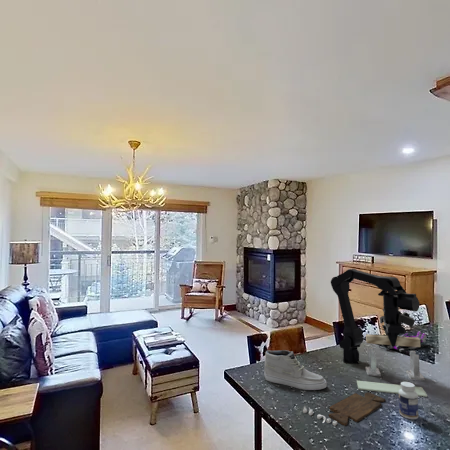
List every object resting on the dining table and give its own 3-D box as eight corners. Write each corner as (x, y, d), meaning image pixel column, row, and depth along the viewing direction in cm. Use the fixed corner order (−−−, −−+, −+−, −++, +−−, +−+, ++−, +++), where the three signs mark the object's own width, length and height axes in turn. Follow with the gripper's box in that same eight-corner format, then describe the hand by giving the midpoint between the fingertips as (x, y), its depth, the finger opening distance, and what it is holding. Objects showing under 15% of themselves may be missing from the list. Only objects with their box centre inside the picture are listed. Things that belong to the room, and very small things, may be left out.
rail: (367, 343, 138) (366, 336, 138) (366, 341, 140) (365, 334, 141) (420, 347, 132) (420, 339, 132) (418, 344, 135) (418, 337, 135)
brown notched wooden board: (320, 416, 106) (349, 430, 98) (320, 411, 106) (349, 425, 98) (362, 392, 122) (389, 402, 114) (362, 387, 122) (389, 397, 114)
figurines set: (337, 424, 100) (337, 415, 100) (333, 428, 98) (333, 418, 98) (304, 410, 109) (303, 401, 109) (299, 413, 107) (299, 404, 107)
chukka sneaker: (325, 393, 120) (324, 360, 121) (260, 382, 130) (260, 352, 131) (328, 384, 129) (327, 353, 129) (267, 374, 139) (266, 345, 139)
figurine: (443, 339, 165) (398, 346, 157) (443, 353, 165) (398, 360, 157) (405, 324, 188) (364, 329, 179) (405, 336, 188) (363, 342, 180)
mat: (358, 389, 123) (358, 388, 123) (356, 381, 130) (356, 380, 130) (427, 397, 117) (427, 395, 117) (421, 388, 123) (421, 387, 123)
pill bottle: (395, 411, 107) (394, 381, 108) (411, 410, 107) (410, 380, 108) (406, 420, 102) (405, 388, 102) (422, 419, 102) (421, 387, 103)
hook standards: (367, 375, 136) (366, 352, 137) (365, 369, 143) (364, 346, 143) (424, 380, 130) (423, 356, 131) (419, 374, 137) (418, 351, 137)
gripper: (419, 313, 126) (420, 354, 125) (406, 304, 144) (408, 340, 143) (387, 311, 129) (388, 351, 128) (379, 303, 147) (380, 338, 146)
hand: (392, 345), depth 136 cm, fingers closed on rail, 3 cm apart
